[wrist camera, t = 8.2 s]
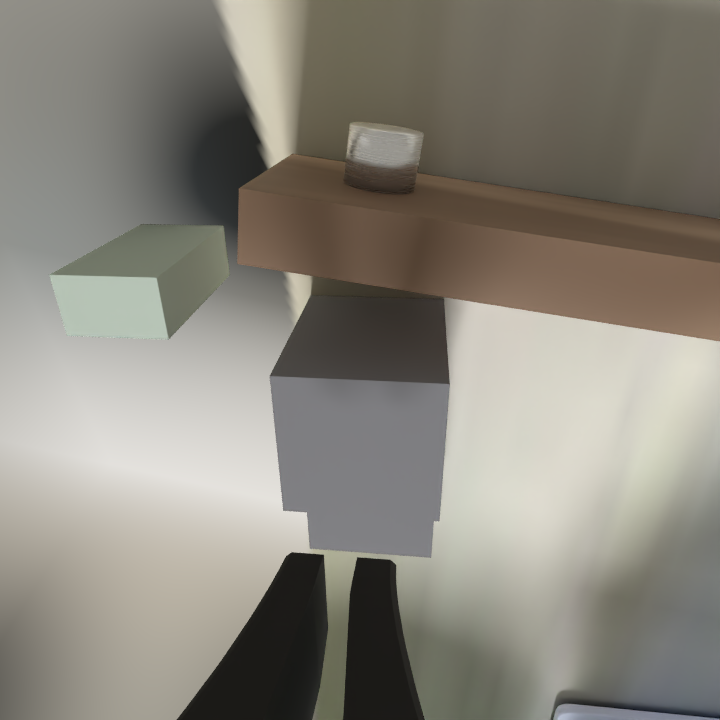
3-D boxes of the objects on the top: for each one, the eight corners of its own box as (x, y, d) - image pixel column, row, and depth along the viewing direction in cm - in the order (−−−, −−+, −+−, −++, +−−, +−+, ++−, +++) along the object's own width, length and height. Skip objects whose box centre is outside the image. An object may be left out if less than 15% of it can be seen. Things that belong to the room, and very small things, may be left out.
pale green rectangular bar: (947, 293, 15) (1136, 376, 11) (150, 272, 17) (66, 335, 13) (975, 237, 14) (1189, 305, 10) (141, 224, 16) (49, 275, 12)
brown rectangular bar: (801, 290, 15) (945, 377, 11) (288, 210, 15) (237, 263, 11) (857, 188, 14) (1046, 241, 9) (295, 104, 14) (240, 119, 10)
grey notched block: (430, 503, 20) (431, 625, 16) (322, 497, 21) (294, 613, 16) (443, 298, 16) (449, 383, 12) (310, 295, 17) (269, 376, 12)
